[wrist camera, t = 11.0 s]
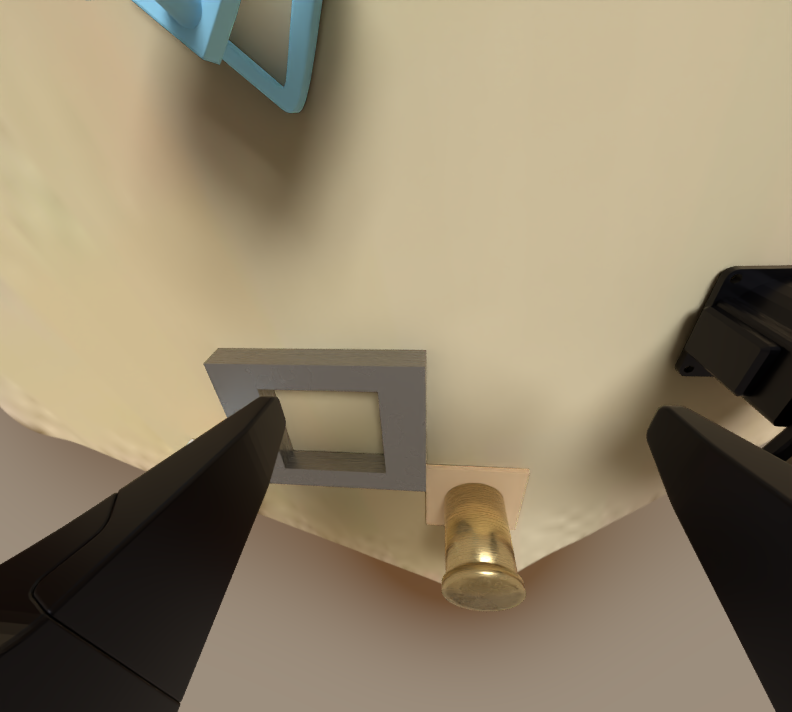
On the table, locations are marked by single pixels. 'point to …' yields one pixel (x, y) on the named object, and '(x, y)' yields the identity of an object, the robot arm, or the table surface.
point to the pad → (448, 476)
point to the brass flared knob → (479, 551)
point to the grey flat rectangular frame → (337, 371)
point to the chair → (209, 38)
